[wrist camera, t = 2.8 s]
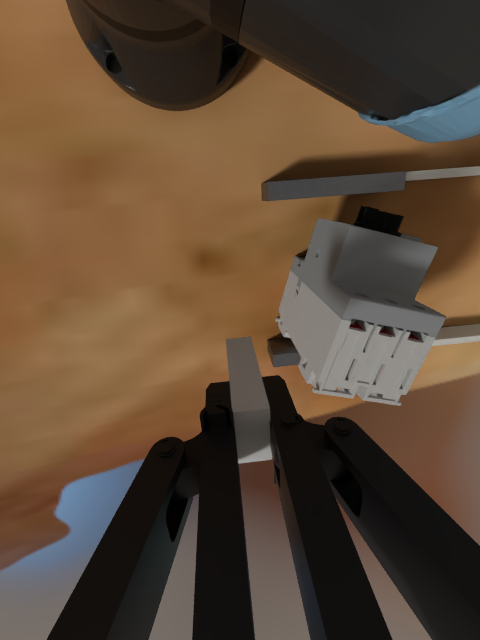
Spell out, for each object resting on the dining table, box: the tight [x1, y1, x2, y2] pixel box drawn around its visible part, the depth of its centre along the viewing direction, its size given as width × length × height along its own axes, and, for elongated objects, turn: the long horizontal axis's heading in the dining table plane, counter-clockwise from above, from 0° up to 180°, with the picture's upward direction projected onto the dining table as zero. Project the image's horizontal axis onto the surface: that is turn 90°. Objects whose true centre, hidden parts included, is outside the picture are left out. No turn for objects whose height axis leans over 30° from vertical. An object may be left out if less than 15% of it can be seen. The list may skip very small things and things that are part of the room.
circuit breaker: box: [276, 206, 446, 406], centre depth 28 cm, size 8×14×15 cm, turn 167°
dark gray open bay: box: [261, 171, 407, 367], centre depth 33 cm, size 20×13×4 cm, turn 4°
